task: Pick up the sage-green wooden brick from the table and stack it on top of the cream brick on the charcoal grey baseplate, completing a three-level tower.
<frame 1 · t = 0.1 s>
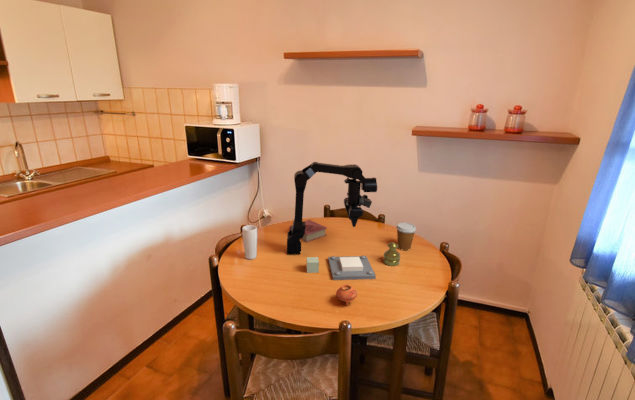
hand: (352, 223, 166), 15 cm above the table, fingers open, 9 cm apart
green tiered ornament: (391, 262, 160), on the table
tower base: (350, 268, 154), on the table
disposable coffee cup: (404, 248, 175), on the table
pot: (346, 301, 131), on the table
book: (307, 235, 189), on the table
sage brick: (312, 270, 152), on the table
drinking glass: (250, 257, 162), on the table
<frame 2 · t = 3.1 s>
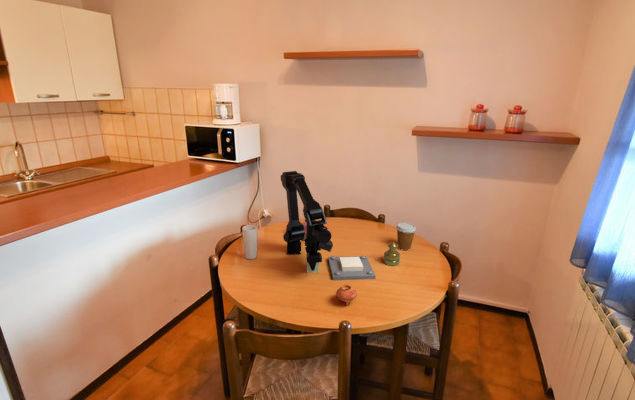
hand: (312, 267, 152), 1 cm above the table, fingers closed on sage brick, 5 cm apart
sage brick: (312, 269, 152), on the table, touching gripper
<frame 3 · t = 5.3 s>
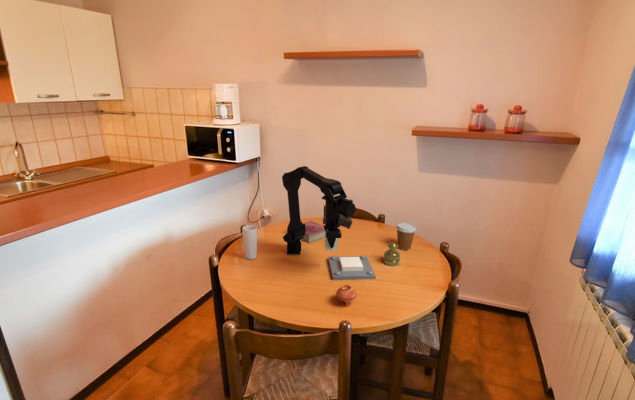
hand: (331, 245, 149), 12 cm above the table, fingers closed on sage brick, 5 cm apart
sage brick: (331, 247, 149), point 11 cm above the table, touching gripper
when the fingers open (6 cm above the table, at t = 7.6 s): sage brick stays where it is, resting on tower base.
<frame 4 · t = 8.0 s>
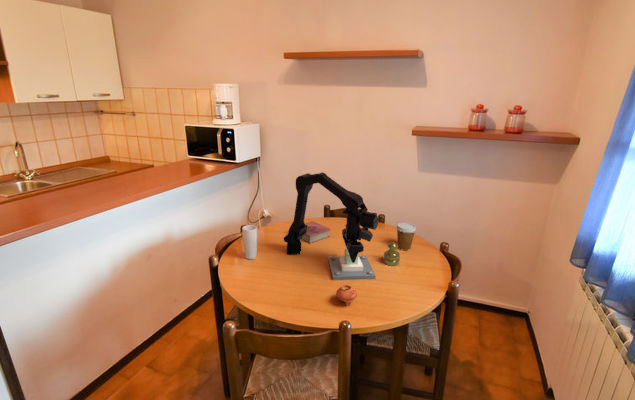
hand: (351, 257, 152), 6 cm above the table, fingers open, 9 cm apart
sage brick: (350, 261, 153), point 3 cm above the table, touching tower base
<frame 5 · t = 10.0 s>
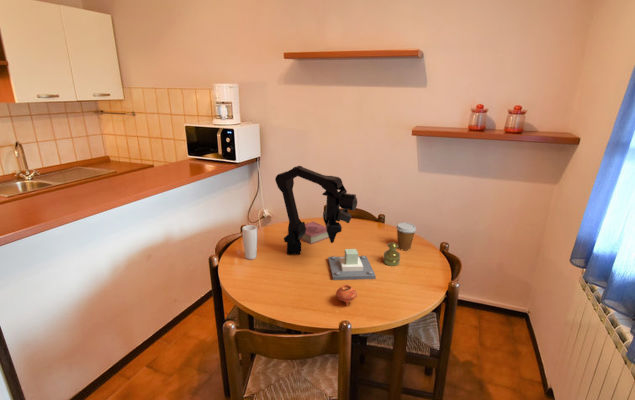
hand: (330, 238, 156), 12 cm above the table, fingers open, 9 cm apart
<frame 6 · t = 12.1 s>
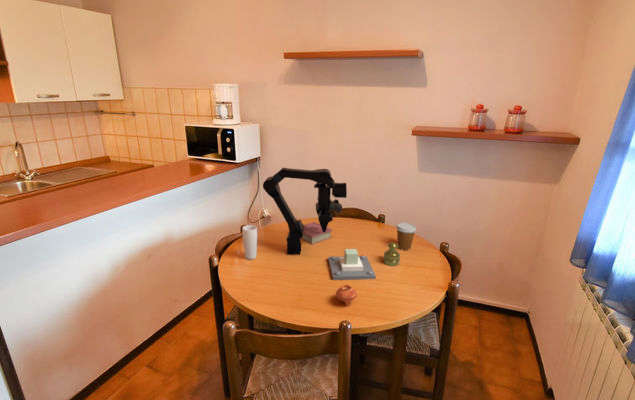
hand: (323, 228, 164), 13 cm above the table, fingers open, 9 cm apart
at the end: sage brick 0.1 cm off-centre on the tower base, point 3.5 cm above the tower base's base; sage brick tilted 0°; the gripper is holding nothing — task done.
